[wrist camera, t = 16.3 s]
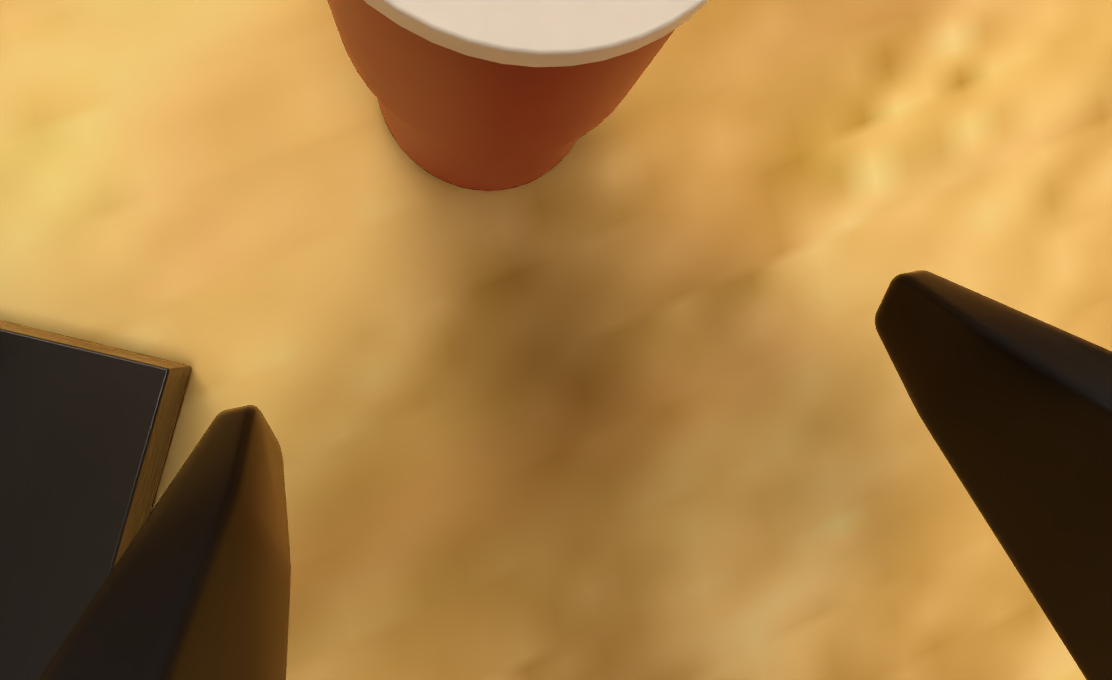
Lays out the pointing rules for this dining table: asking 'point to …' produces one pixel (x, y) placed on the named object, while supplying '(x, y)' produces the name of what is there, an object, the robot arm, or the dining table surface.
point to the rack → (72, 478)
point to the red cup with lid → (501, 75)
